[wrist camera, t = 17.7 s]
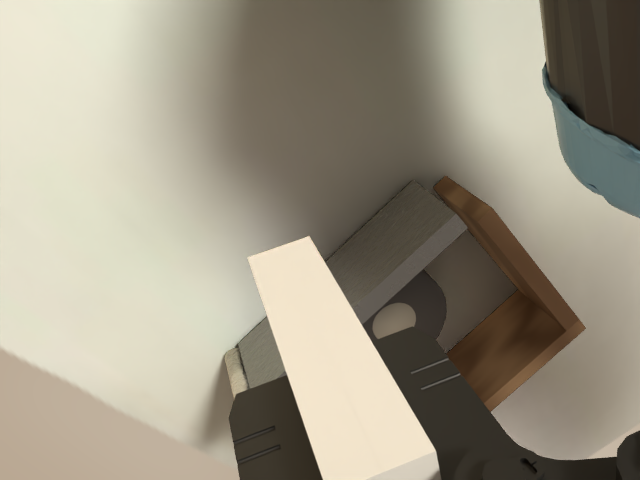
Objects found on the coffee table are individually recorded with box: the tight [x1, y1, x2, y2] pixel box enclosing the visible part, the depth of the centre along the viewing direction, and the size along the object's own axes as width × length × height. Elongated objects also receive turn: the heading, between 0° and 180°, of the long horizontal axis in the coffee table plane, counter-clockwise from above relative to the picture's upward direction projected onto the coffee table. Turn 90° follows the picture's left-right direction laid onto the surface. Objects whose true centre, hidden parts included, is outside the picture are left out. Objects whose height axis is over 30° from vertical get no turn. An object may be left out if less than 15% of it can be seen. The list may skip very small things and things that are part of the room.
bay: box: [433, 176, 586, 412], centre depth 42 cm, size 19×14×6 cm
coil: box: [362, 269, 446, 341], centre depth 41 cm, size 8×8×4 cm
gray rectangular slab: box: [225, 180, 468, 399], centre depth 37 cm, size 18×2×7 cm, turn 132°
